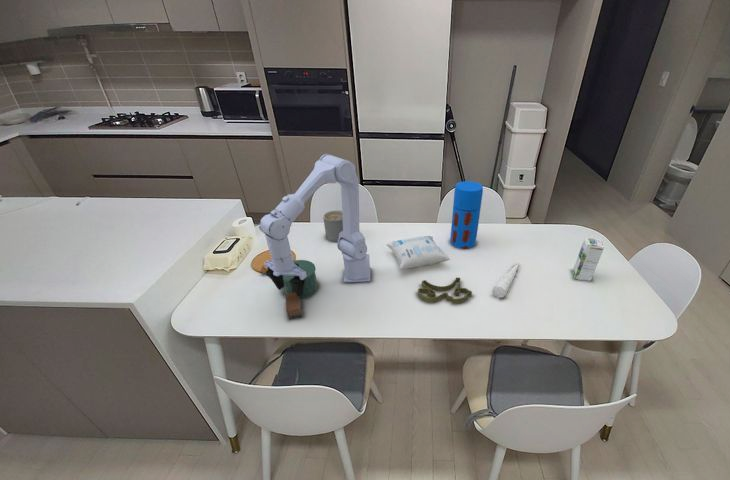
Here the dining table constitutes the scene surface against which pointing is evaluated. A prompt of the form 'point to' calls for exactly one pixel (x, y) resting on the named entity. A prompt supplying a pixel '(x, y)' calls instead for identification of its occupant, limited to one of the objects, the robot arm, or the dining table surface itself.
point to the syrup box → (588, 259)
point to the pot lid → (303, 265)
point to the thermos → (466, 214)
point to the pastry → (264, 269)
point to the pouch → (417, 252)
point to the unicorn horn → (504, 283)
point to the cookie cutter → (431, 293)
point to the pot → (308, 289)
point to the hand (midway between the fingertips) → (290, 291)
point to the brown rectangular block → (293, 305)
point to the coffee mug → (333, 224)
